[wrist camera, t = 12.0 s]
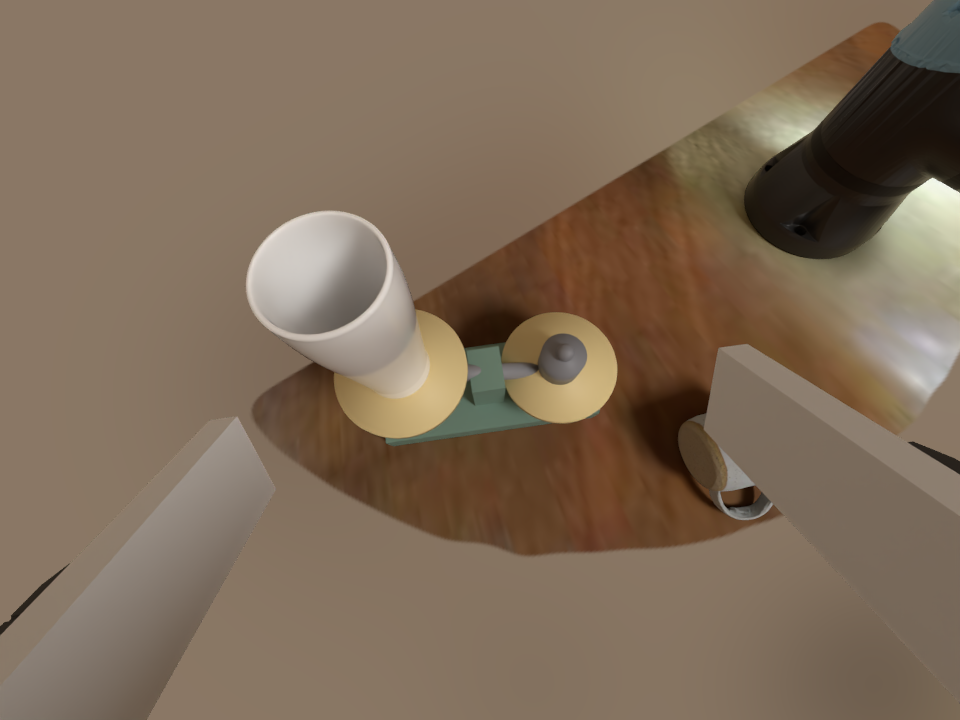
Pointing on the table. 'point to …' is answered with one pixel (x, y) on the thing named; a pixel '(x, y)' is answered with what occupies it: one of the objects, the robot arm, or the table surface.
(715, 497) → the ceramic mug
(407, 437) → the balance
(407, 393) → the white cup
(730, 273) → the table surface
